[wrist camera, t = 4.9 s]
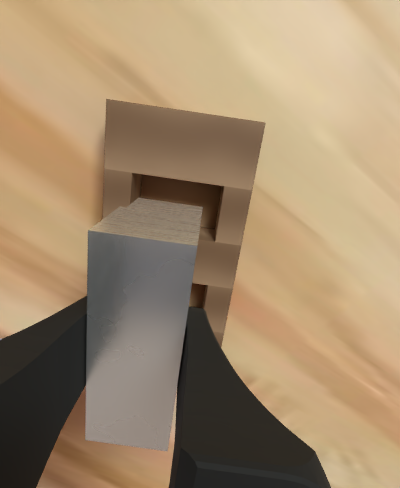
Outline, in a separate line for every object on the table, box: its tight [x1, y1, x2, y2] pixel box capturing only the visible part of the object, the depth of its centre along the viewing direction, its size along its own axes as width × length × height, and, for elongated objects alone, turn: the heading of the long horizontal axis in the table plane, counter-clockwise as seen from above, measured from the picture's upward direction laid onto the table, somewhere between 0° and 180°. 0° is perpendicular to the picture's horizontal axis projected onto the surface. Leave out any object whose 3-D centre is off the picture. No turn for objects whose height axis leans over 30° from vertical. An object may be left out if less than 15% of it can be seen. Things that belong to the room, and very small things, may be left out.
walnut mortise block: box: [103, 99, 265, 347], centre depth 19 cm, size 16×8×2 cm, turn 172°
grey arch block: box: [85, 198, 203, 451], centre depth 12 cm, size 8×3×6 cm, turn 172°
